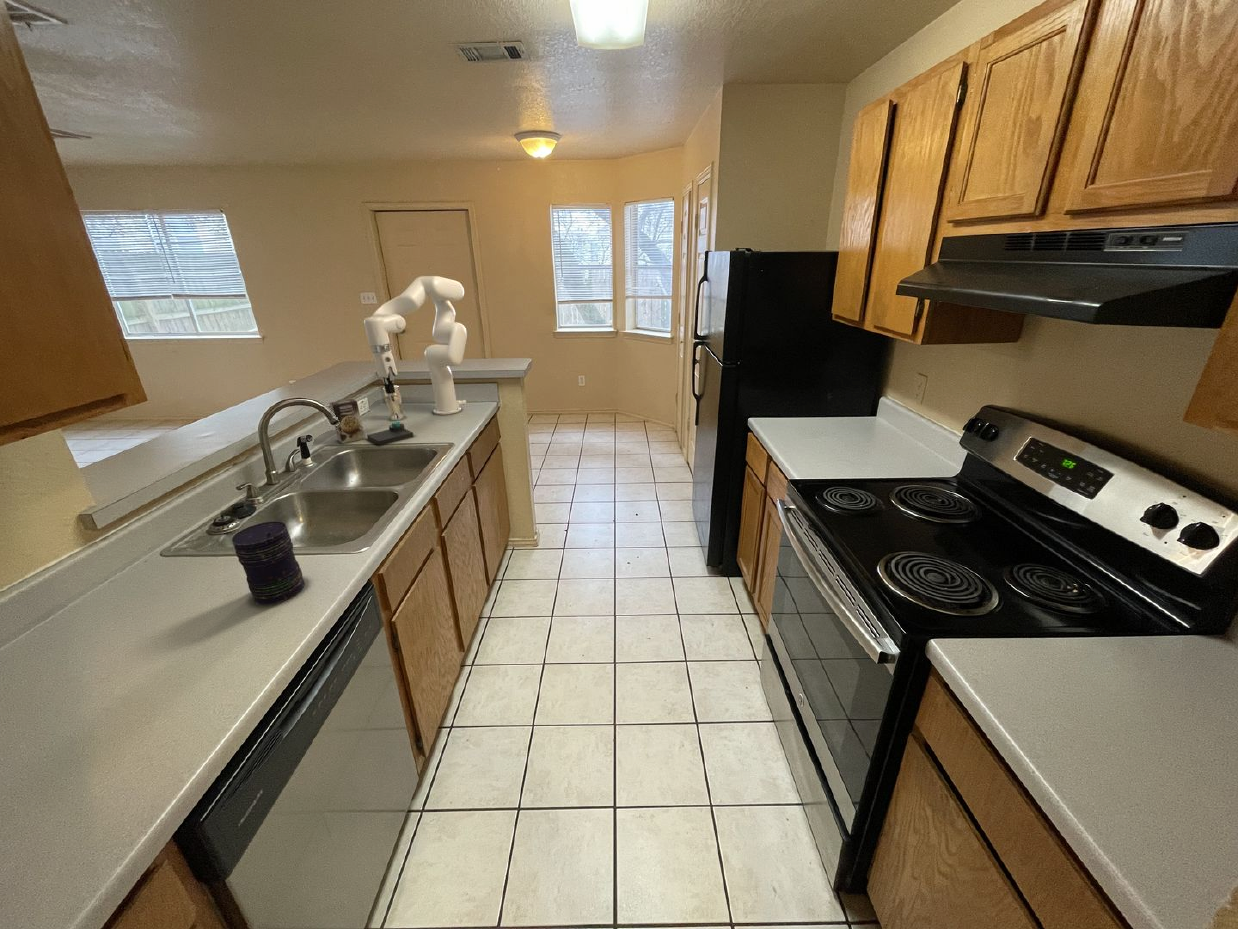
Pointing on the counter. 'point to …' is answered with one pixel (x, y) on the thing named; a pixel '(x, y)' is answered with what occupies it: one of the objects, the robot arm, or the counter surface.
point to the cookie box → (348, 420)
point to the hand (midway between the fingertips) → (390, 392)
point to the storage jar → (269, 562)
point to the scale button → (396, 424)
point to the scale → (390, 435)
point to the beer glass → (394, 403)
